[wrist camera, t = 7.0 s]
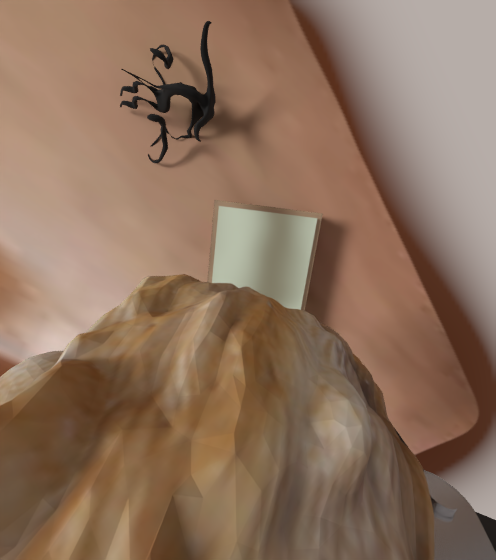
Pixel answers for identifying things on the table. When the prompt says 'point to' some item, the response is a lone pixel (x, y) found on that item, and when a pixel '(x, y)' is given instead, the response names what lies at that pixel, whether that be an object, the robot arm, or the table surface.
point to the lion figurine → (205, 439)
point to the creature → (200, 102)
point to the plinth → (264, 250)
